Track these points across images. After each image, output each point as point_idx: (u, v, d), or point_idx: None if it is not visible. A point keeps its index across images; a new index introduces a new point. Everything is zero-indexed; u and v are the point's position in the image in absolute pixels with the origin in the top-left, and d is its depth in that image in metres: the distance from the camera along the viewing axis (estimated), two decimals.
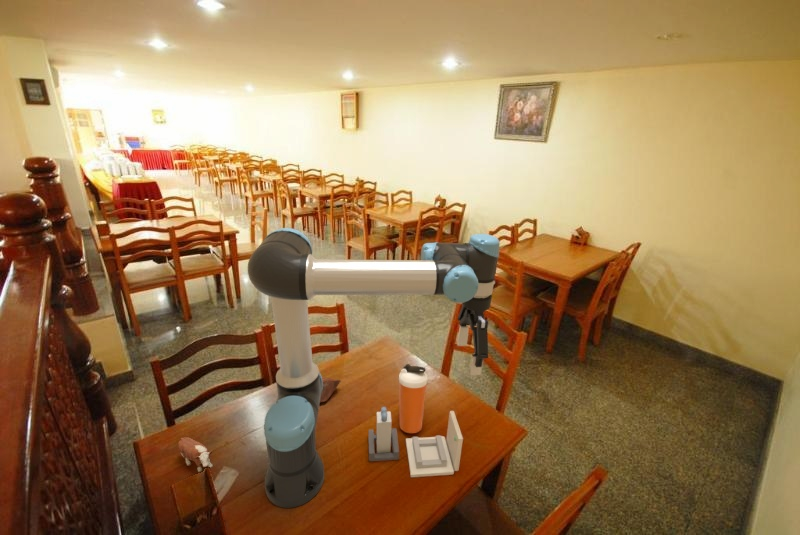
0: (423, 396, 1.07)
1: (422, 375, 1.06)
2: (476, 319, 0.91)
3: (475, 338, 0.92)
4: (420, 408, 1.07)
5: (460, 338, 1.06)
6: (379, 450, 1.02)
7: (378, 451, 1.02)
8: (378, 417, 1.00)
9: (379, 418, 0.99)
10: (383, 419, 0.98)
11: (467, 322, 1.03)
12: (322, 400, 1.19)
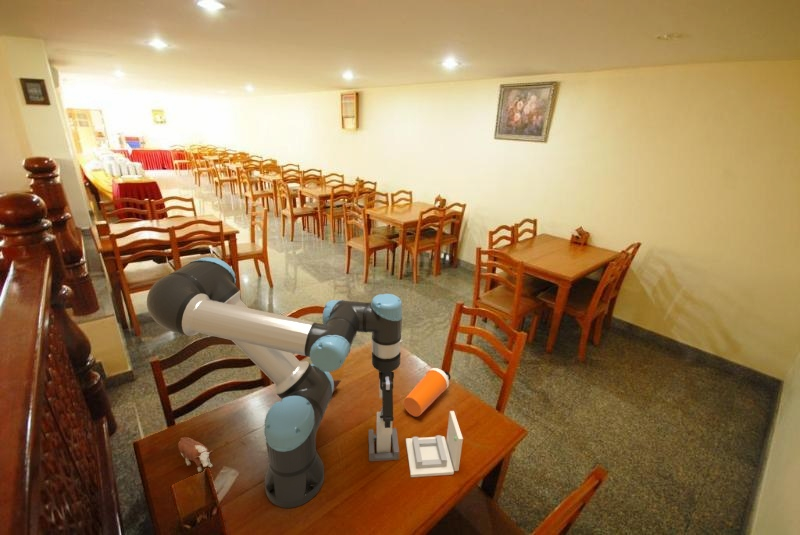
0: (439, 386, 1.21)
1: (446, 376, 1.26)
2: (383, 379, 0.90)
3: (383, 398, 0.90)
4: (432, 389, 1.18)
5: (381, 391, 1.04)
6: (379, 450, 1.02)
7: (378, 451, 1.02)
8: (378, 417, 1.00)
9: (379, 418, 0.99)
10: None
11: None
12: None
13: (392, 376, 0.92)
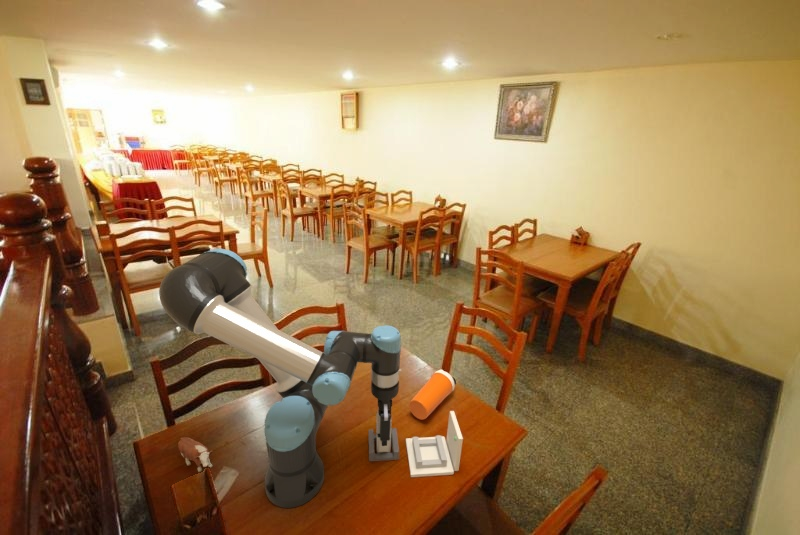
0: (446, 394, 1.20)
1: None
2: (382, 408, 0.94)
3: (381, 423, 0.97)
4: (440, 397, 1.17)
5: None
6: None
7: (378, 451, 1.02)
8: (378, 417, 1.00)
9: (379, 418, 0.99)
10: None
11: None
12: None
13: (390, 404, 0.96)
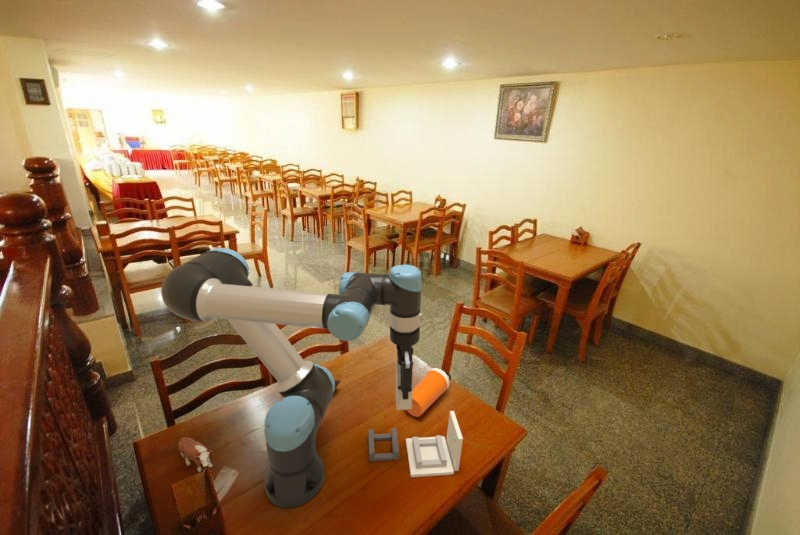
0: (440, 386, 1.21)
1: None
2: (403, 356, 0.87)
3: (401, 373, 0.89)
4: (432, 390, 1.18)
5: None
6: (399, 405, 0.95)
7: (398, 407, 0.95)
8: (398, 369, 0.92)
9: (399, 370, 0.92)
10: None
11: None
12: None
13: (411, 353, 0.89)
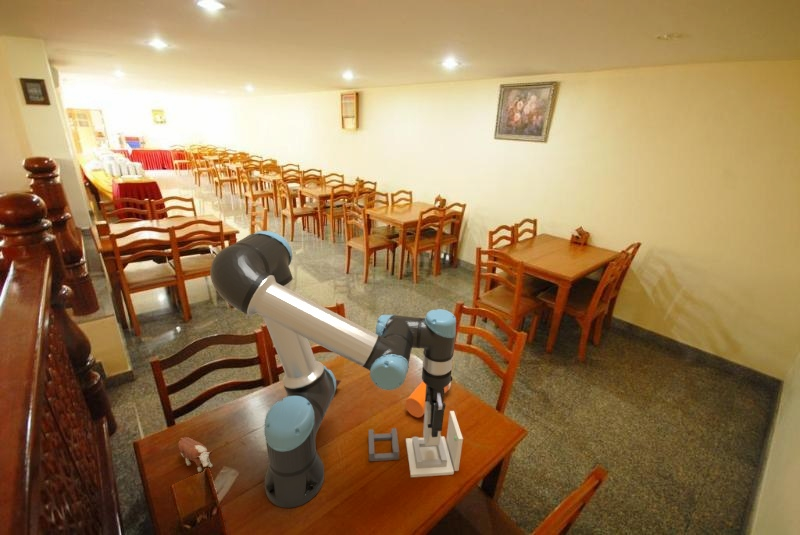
0: None
1: None
2: (435, 397, 0.89)
3: (432, 412, 0.92)
4: None
5: None
6: None
7: (427, 443, 0.97)
8: (428, 407, 0.95)
9: (429, 408, 0.95)
10: None
11: None
12: None
13: (442, 393, 0.91)
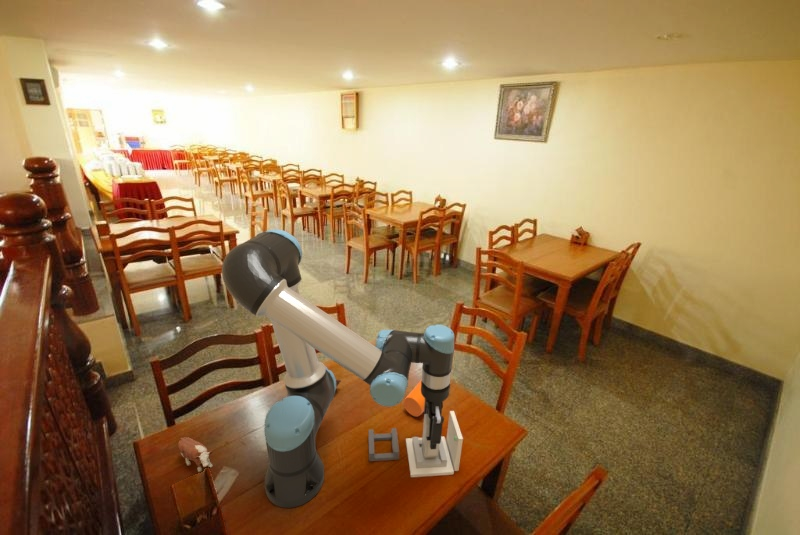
0: None
1: None
2: (433, 411, 0.91)
3: (431, 425, 0.94)
4: None
5: None
6: (426, 453, 0.99)
7: (426, 454, 0.99)
8: (427, 419, 0.97)
9: (428, 420, 0.96)
10: None
11: None
12: None
13: (441, 406, 0.93)
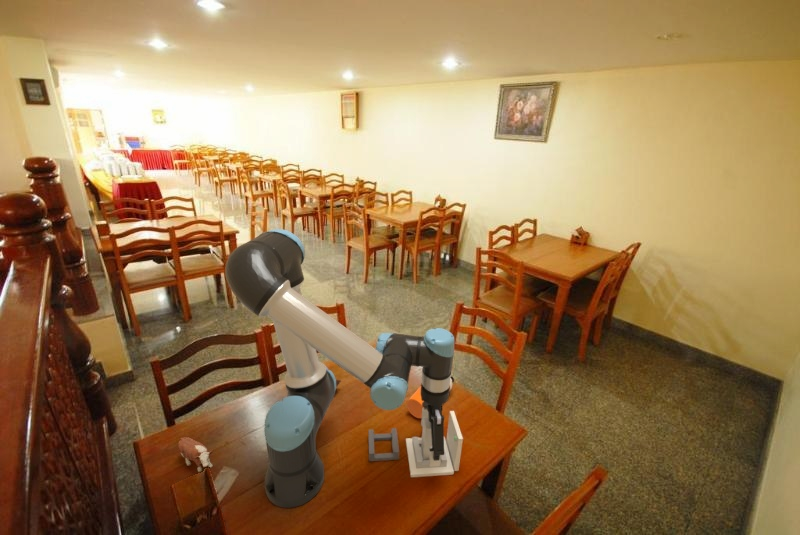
0: None
1: None
2: (433, 413, 0.91)
3: (432, 431, 0.91)
4: None
5: (423, 419, 1.05)
6: (425, 457, 0.99)
7: (425, 458, 0.99)
8: (426, 423, 0.97)
9: (427, 424, 0.97)
10: None
11: None
12: None
13: (441, 409, 0.93)
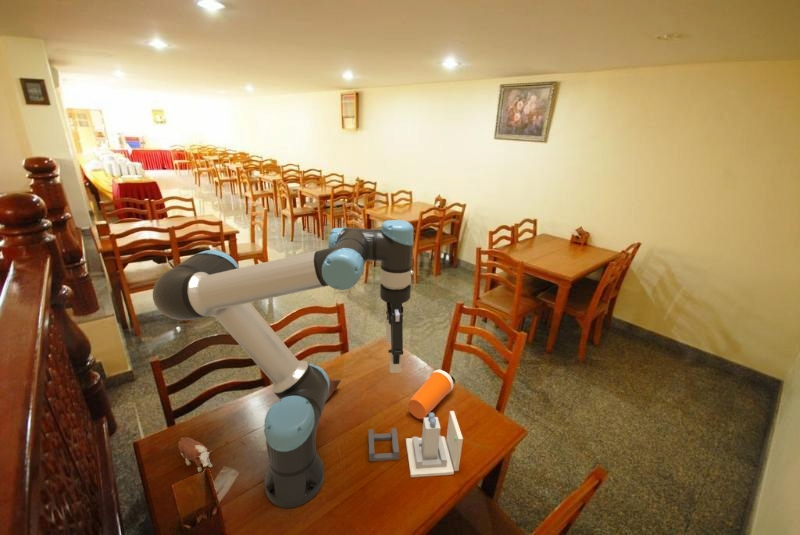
0: (445, 392, 1.20)
1: None
2: (392, 312, 0.85)
3: (392, 332, 0.85)
4: (438, 396, 1.17)
5: (388, 333, 0.99)
6: (425, 457, 0.99)
7: (425, 458, 0.99)
8: (426, 423, 0.97)
9: (427, 424, 0.97)
10: (432, 425, 0.95)
11: None
12: None
13: (401, 310, 0.87)
